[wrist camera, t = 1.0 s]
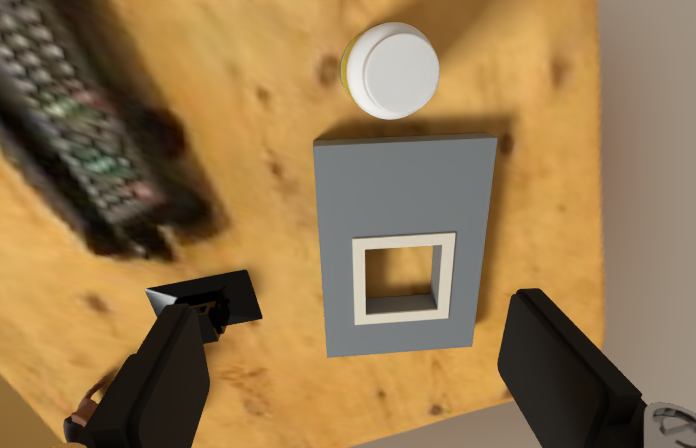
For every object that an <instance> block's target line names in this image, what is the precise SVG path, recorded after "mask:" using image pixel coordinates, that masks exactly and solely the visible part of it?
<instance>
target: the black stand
mask: <svg viewBox="0 0 696 448" xmlns="http://www.w3.org/2000/svg"><path fill="white" fill-rule="evenodd" d="M145 292H146V294H147V296H148V298H149V300H150V303H151V305H152V307H153V309H154V312H155V314H156V316H157V318H158V317H159V315H160V313H161V312H162V310H163V308H164V307H165V306H166V305H168V304H188V305H189V306H190V309H193V308H194V309H196V311H197V316H198V321H199V326H200V331H201V337H202V342H203V344H206V343H212V342H217V341H218V340H219V337H220V335H221V334H224V332H225V329H226V326H227V325H232V324H237V323H243V322H248V321H253V320H259V319H262V318H263V317H262V314H261V311H260V308H259V305H258V302H257V298H256V295H255V292H254V289H253V286H252V283H251V280H250V277H249V274H248V271H247V270H240V271H235V272H230V273H224V274H219V275H214V276H209V277H204V278H198V279H193V280H188V281H183V282H178V283H172V284H167V285H162V286H157V287H152V288H147V289H145Z"/></svg>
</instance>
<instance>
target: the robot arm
mask: <svg viewBox="0 0 696 448" xmlns="http://www.w3.org/2000/svg"><path fill="white" fill-rule="evenodd" d="M497 364H498V371H499V373H500V376H501V377H502V379H503V381H504V382H505V384H506V386H507V388H508V389H509V391H510V393H511V394H512V396H513V398H514V400H515V401H516V403H517V405H518V406H519V408H520V410H521V411H522V413H523V415H524V417H525V418H526V420H527V422H528V424H529V425H530V427H531V429H532V431H533V432H534V434H535V435H536V437H537V439H538V441H539V443H540V444H541V446H542V448H696V413H694V412H692V411H690V410H687V409H685V408H683V407H680V406H677V405H674V404H671V403H663V402H657V403H651V404H650V405H647V404H646V403H645V402H644V401H643V400H642V399H641V396H642V393H641V392H640V391H639V390H638V389H637V388H636V387H635V386H634V385H633V384H632V383H631V382H630V381H629V380H628V379H627V378H626V377H625V376H624V375H623V374H622V373H621V372H620V371H619V370H618V368H617V367H616V366H615V365H614V364H613V363H612V362H611V361H610V360H609V359H608V358H607V357H606V356H605V355H604V354H603V353H602V352H601V351H600V350H599V349H598V348H597V347H596V346H595V345H594V344H593V343H592V342H591V341H590V340H589V339H588V338H587V337H586V335H585V334H584V333H583V332H582V331H581V330H580V329H579V328H578V327H577V326H576V325H575V324H574V323H573V322H572V321H571V320H570V319H569V318H568V317H567V316H566V315H565V314H564V313H563V312H562V311H561V310H560V309H559V308H558V307H557V306H556V305H555V304H554V302H553V301H552V300H551V299H550V298H549V297H548V296H547V295H546V294H545V293H544V292H543V291H542V290H540V289H538V288H532V289H519V290H518V291H517V292H516V294H513V295H512V296H511V300H510V304H509V309H508V314H507V319H506V324H505V329H504V333H503V338H502V343H501V348H500V353H499V357H498V363H497ZM209 387H210V379H209V373H208V368H207V363H206V357H205V352H204V347H203V342H202V337H201V331H200V326H199V321H198V316H197V311H196V309H194V308H193V309H190V306H189V305H188V304H168V305H166V306H165V307H164V308H163V310H162V312H161V313H160V315H159V317H158V318H157V320H156V322H155V323H154V325H153V326H152V328H151V330H150V331H149V333H148V335H147V336H146V338H145V340H144V341H143V343H142V345H141V346H140V348H139V350H138V351H137V353H136V354H132V355H130V356H129V357H128V358H127V360H126V361H125V363H124V364H123V366H122V367H121V369H120V371H119V372H118V374H117V376H116V377H115V379H114V380H113V382H112V384H111V385H110V387H109V388H108V390H107V392H106V393H105V395H104V396H103V398H102V400H101V401H100V403H99V404H98V406H97V408H96V409H95V411H94V413H93V414H92V416H91V417H90V419H89V421H88V422H87V424H86V425H85V427H84V429H83V430H82V432H81V433H80V435H79V437H78V438H77V440H76V441H75V443H64V444H60V445H55V446H53V447H51V448H191V446H192V443H193V440H194V437H195V434H196V430H197V427H198V424H199V421H200V418H201V415H202V411H203V408H204V405H205V402H206V399H207V396H208V392H209Z"/></svg>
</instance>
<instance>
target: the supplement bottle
mask: <svg viewBox="0 0 696 448" xmlns="http://www.w3.org/2000/svg"><path fill="white" fill-rule="evenodd" d="M340 76H341V81H342V84H343V86H344V89H345V91H346V92H347V94H348V95H349V97H350V98H351V99H352V100H353V101H354V102H355V103H356V104H357V105H358V106H359V107H360V108H361V109H363V110H364V111H365V112H367V113H368V114H370V115H372V116H375V117H377V118H381V119H390V120H392V119H399V118H403V117H406V116H408V115H410V114H412V113H414V112H415V111H417V110H418V109H420V108H421V107H423V106H424V105H425V104H426V103H427V102H428V101H429V100H430V99H431V97H432V96H433V94H434V92H435V90H436V88H437V85H438V82H439V76H440V66H439V61H438V57H437V55H436V53H435V51H434V49H433V47H432V45H431V43H430V42H429V40H428V39H427V38H426V36H425V35H424V34H423V33H422V32H420V31H419V30H418V29H416V28H415V27H413V26H411V25H408V24H405V23H400V22H388V23H383V24H380V25H377V26H375V27H372V28H370V29H368V30H366V31H364V32H362V33H361V34H359V35H358V36H356V37H355V38H354V39H353V40H352V41H351V42H350V43H349V44H348V46H347V47H346V49H345V51H344V53H343V56H342V59H341V64H340Z"/></svg>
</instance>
